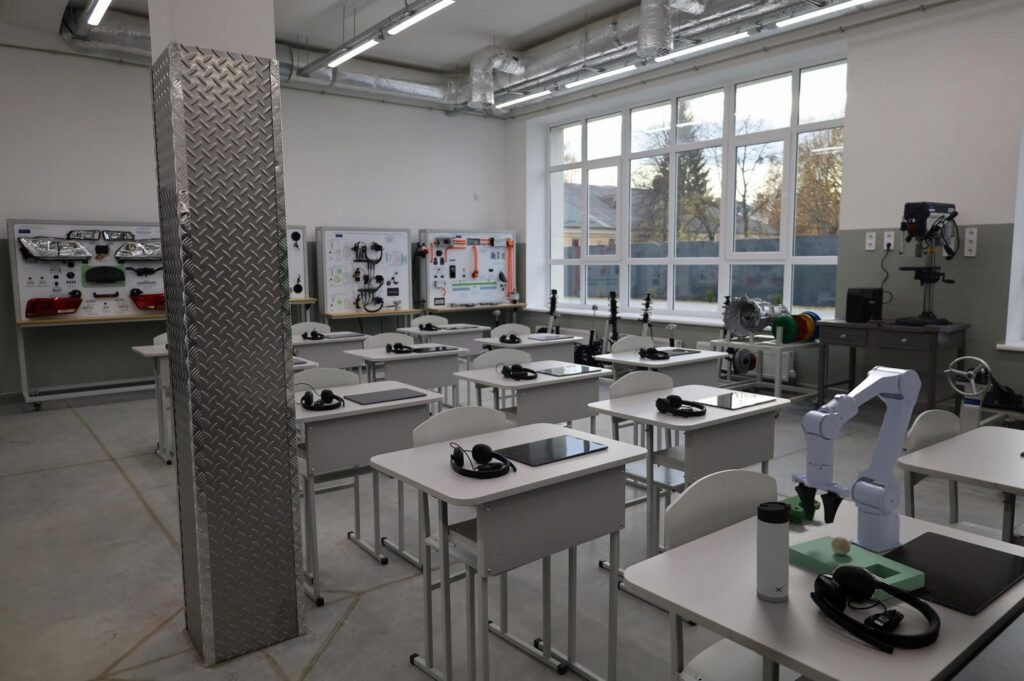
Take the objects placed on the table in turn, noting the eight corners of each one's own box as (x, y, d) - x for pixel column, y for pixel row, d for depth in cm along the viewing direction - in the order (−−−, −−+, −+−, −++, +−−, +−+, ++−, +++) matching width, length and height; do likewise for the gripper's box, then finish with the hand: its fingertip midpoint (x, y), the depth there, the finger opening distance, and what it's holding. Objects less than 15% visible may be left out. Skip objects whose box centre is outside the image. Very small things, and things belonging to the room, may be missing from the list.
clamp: (794, 540, 182) (793, 515, 178) (776, 528, 187) (774, 504, 182) (823, 516, 186) (822, 491, 182) (804, 505, 191) (803, 481, 187)
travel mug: (787, 606, 137) (788, 510, 135) (753, 598, 141) (753, 505, 139) (792, 593, 142) (793, 501, 141) (760, 586, 146) (760, 496, 144)
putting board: (786, 559, 160) (786, 546, 159) (828, 547, 166) (828, 535, 165) (880, 601, 138) (880, 587, 138) (924, 586, 144) (924, 572, 144)
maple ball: (839, 549, 157) (839, 532, 156) (854, 555, 153) (854, 538, 153) (827, 553, 155) (827, 536, 155) (842, 559, 151) (842, 542, 151)
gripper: (782, 458, 163) (782, 512, 164) (834, 472, 150) (833, 532, 151) (803, 454, 166) (803, 507, 167) (856, 468, 153) (855, 526, 154)
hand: (818, 519), depth 159 cm, fingers open, 5 cm apart
